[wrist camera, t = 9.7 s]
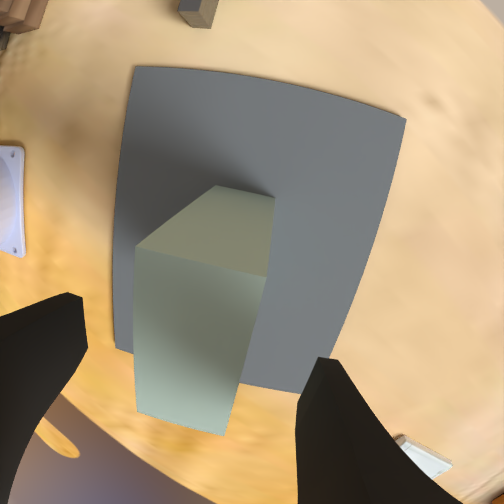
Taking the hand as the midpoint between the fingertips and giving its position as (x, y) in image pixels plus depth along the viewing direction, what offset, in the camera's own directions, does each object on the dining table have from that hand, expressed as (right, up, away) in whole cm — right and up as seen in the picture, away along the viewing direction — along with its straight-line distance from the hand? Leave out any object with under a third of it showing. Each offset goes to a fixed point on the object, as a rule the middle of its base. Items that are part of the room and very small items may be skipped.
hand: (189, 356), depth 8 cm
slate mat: (+1, +3, +8) cm, 9 cm away
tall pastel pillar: (+1, +3, +8) cm, 8 cm away
